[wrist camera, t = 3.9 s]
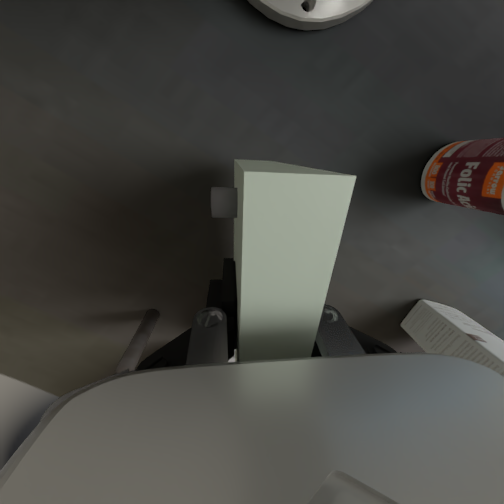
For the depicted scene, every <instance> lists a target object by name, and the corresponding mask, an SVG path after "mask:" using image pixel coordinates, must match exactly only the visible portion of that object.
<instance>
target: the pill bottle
mask: <svg viewBox="0 0 504 504" xmlns="http://www.w3.org/2000/svg"><path fill="white" fill-rule="evenodd" d="M421 189H422V192H423V194H424V195H425V196H426V197H427V198H428V199H430V200H432V201H437V202H442V203H446V204H451V205H456V206H462V207H466V208H471V209H476V210H481V211H487V212H492V213H496V214H501V215H504V138H494V139H484V140H471V141H460V142H454V143H451V144H449V145H446V146H445V147H443V148H441V149H440V150H438V151H437V152H436V153H435V154H434V155H433V156H432V157H431V159H430V160H429V161H428V163H427V164H426V166H425V168H424V170H423V173H422V177H421Z"/></svg>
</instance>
